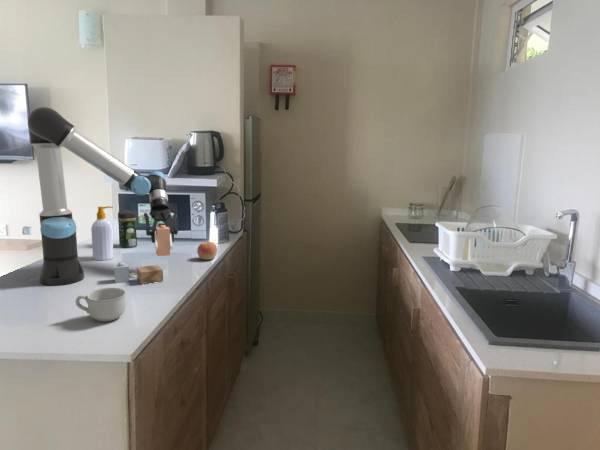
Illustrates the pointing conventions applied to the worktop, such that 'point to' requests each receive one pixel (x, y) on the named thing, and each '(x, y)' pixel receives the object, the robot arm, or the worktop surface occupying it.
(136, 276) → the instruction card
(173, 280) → the worktop surface
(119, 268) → the slate brick
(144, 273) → the base block
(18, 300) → the worktop surface
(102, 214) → the soap bottle
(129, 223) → the coffee jar
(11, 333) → the worktop surface
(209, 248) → the apple
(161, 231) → the terracotta brick
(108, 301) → the teacup
